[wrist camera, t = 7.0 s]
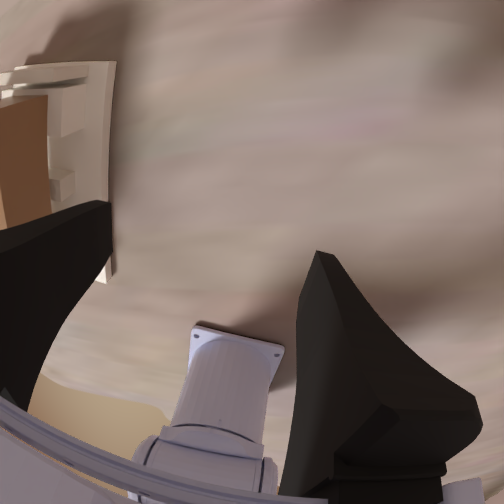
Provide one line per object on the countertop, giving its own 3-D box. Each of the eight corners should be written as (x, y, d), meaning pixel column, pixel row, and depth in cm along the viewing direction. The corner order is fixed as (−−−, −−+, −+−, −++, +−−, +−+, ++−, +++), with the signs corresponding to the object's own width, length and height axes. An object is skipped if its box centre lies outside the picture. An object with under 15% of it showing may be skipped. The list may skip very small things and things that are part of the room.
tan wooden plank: (61, 272, 21) (28, 308, 18) (26, 259, 21) (-7, 292, 18) (48, 94, 14) (-6, 110, 11) (9, 96, 14) (-41, 111, 11)
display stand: (111, 276, 25) (86, 311, 22) (34, 251, 25) (6, 278, 22) (116, 61, 16) (74, 63, 12) (23, 65, 16) (-20, 73, 12)
